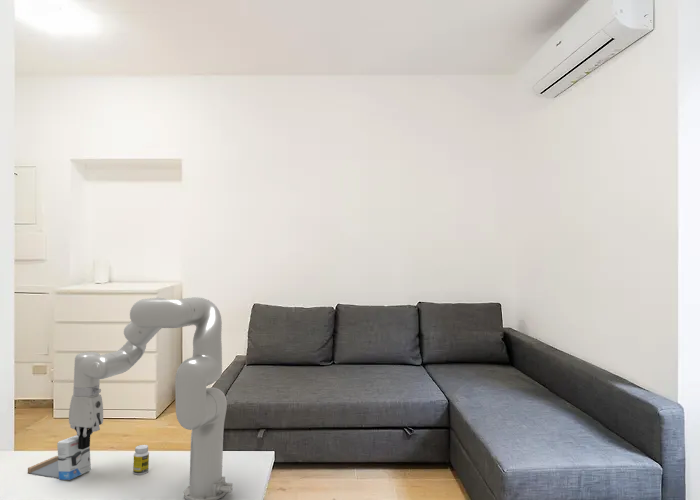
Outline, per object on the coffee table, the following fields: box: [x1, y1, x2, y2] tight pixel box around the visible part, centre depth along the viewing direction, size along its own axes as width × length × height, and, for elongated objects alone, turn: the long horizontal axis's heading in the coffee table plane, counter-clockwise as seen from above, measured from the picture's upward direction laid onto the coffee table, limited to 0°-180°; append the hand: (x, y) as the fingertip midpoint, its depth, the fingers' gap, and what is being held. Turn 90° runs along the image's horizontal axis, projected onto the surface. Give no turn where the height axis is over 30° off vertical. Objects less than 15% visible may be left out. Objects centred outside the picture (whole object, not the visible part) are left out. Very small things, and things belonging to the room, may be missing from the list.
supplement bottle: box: [132, 444, 150, 476], centre depth 165 cm, size 5×5×8 cm
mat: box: [27, 455, 60, 480], centre depth 165 cm, size 13×11×2 cm
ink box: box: [56, 434, 92, 481], centre depth 161 cm, size 8×5×12 cm, turn 161°
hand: (84, 447), depth 160 cm, fingers closed
